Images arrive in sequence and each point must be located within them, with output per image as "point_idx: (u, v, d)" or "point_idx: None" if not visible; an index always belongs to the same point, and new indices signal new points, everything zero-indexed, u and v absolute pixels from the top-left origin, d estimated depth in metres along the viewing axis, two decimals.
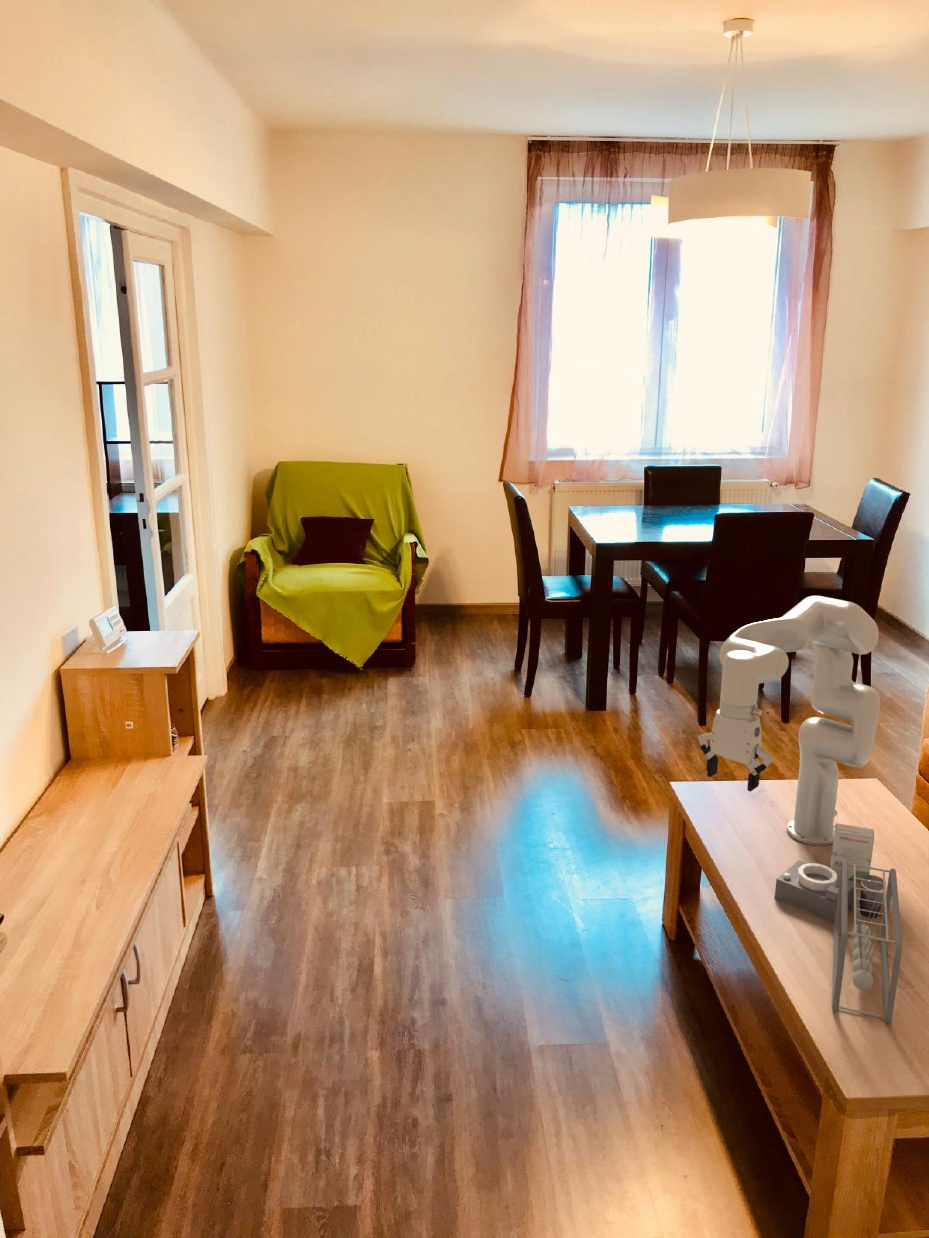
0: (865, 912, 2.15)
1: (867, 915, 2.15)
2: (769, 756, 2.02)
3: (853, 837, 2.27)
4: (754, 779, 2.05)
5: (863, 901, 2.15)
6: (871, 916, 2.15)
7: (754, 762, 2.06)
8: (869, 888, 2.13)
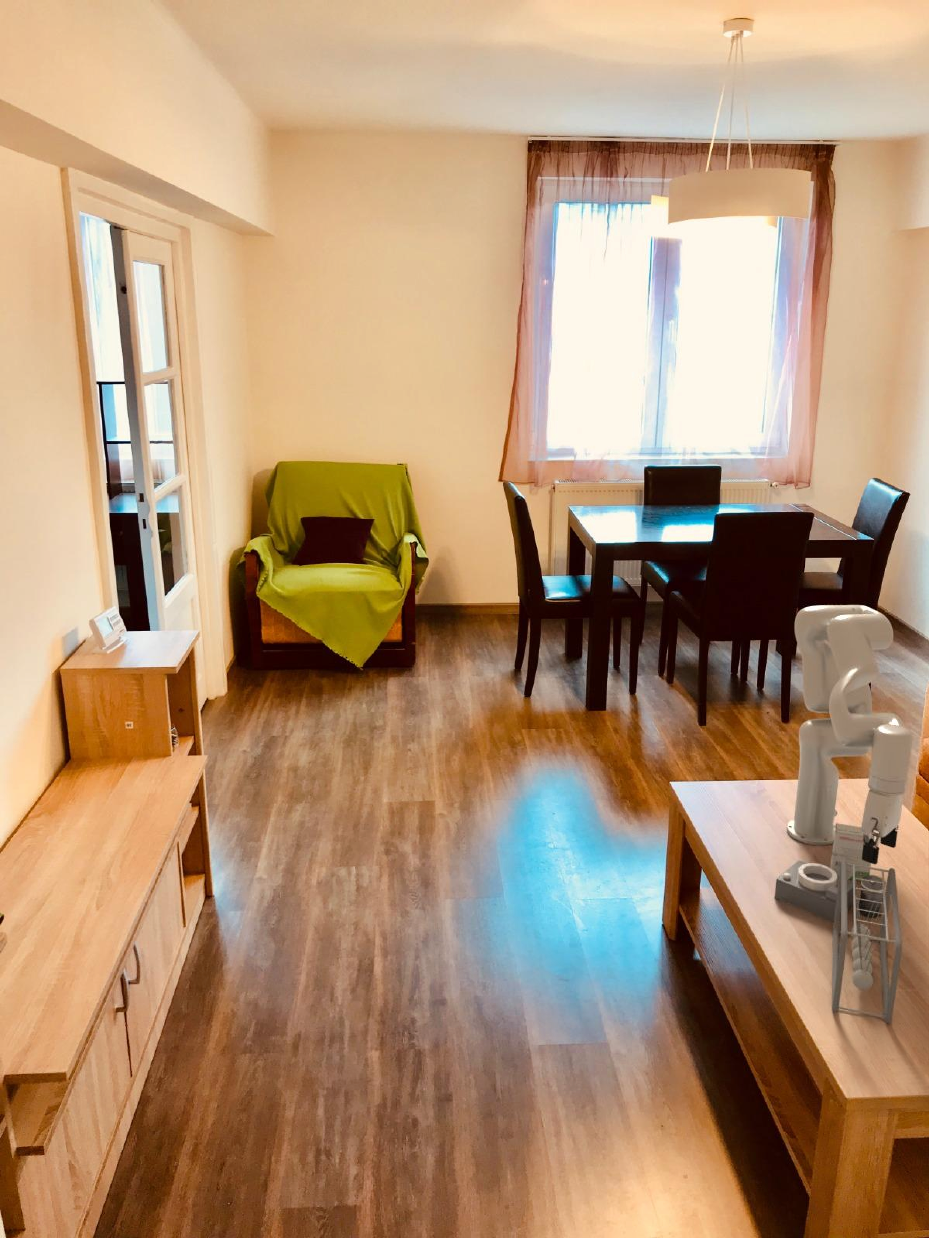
0: (865, 912, 2.15)
1: (867, 915, 2.15)
2: None
3: (853, 837, 2.27)
4: None
5: (863, 901, 2.15)
6: (871, 916, 2.15)
7: None
8: (869, 888, 2.13)
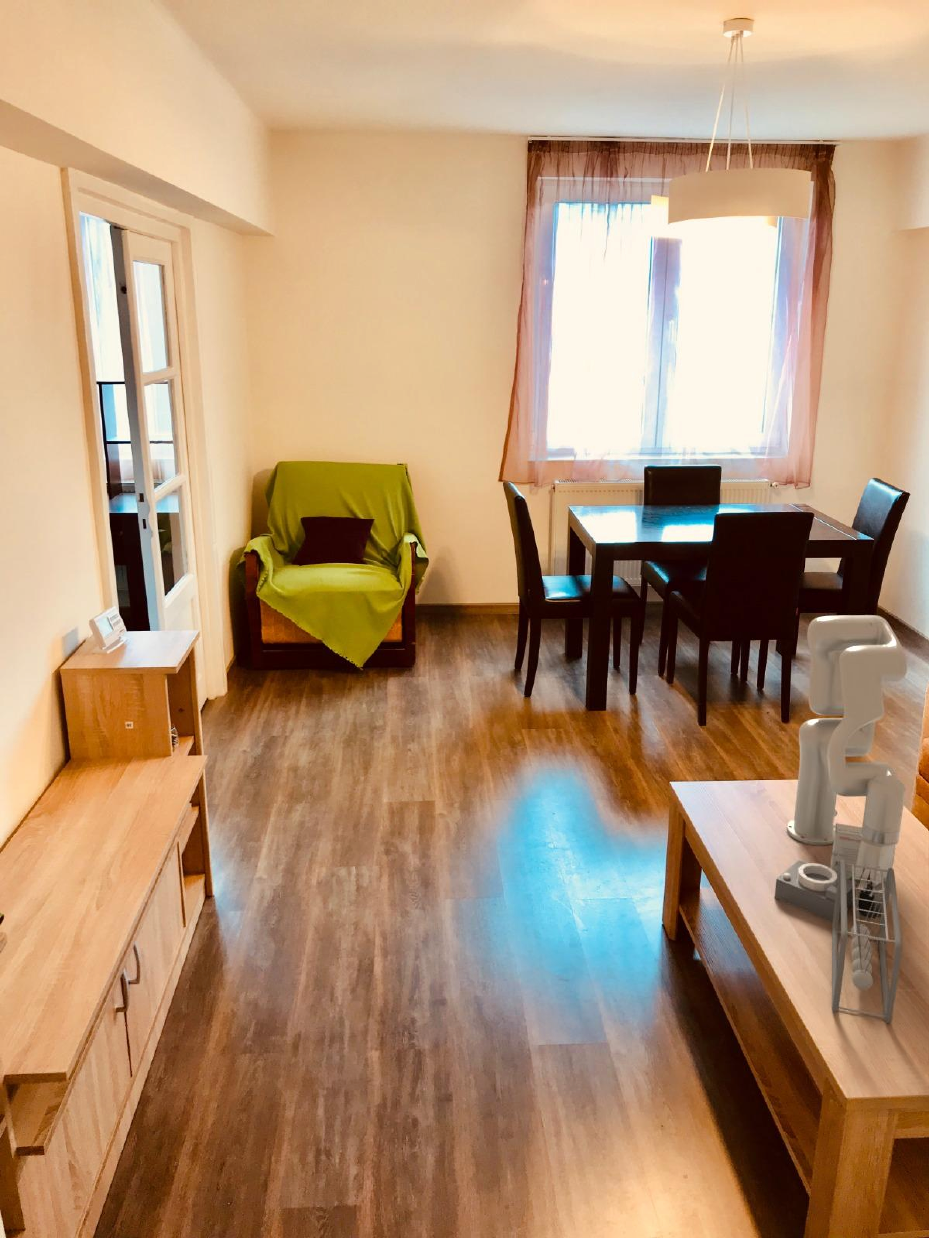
0: (865, 912, 2.15)
1: None
2: None
3: (853, 837, 2.27)
4: None
5: None
6: (871, 916, 2.15)
7: None
8: (869, 888, 2.13)
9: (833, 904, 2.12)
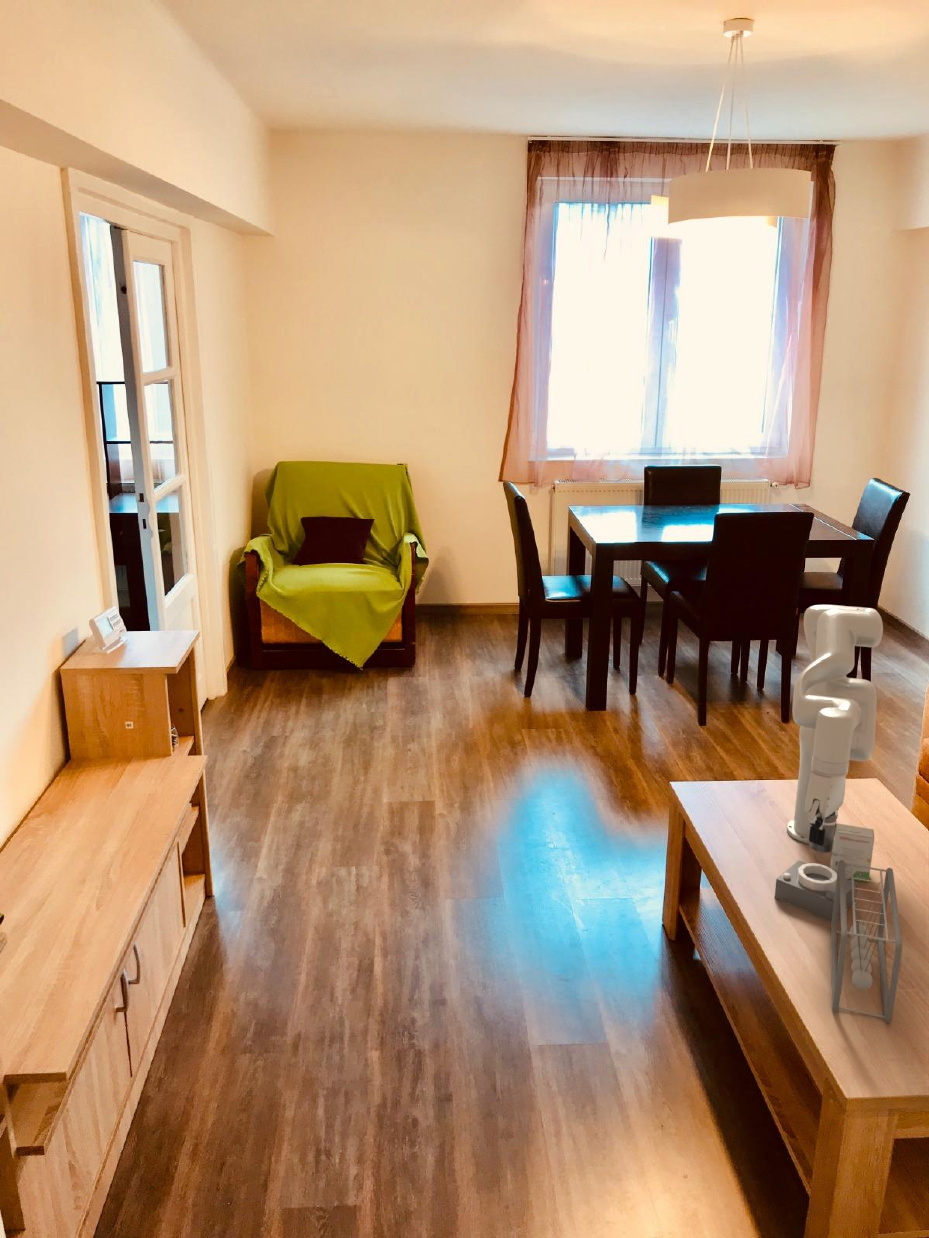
0: (816, 846, 2.15)
1: (818, 849, 2.15)
2: None
3: (853, 837, 2.27)
4: None
5: None
6: (822, 850, 2.15)
7: None
8: None
9: (833, 904, 2.12)
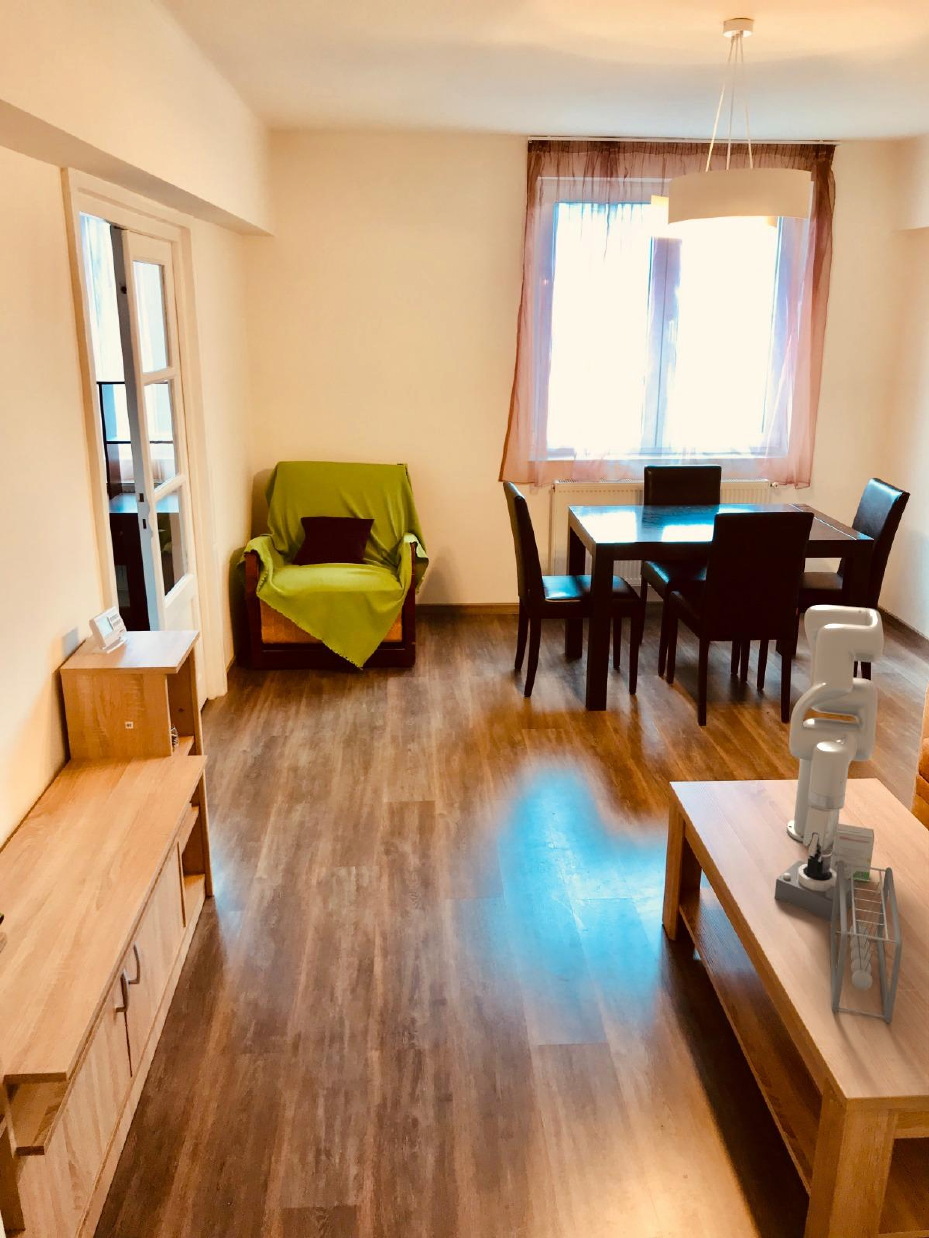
0: (814, 877, 2.18)
1: None
2: None
3: (853, 837, 2.27)
4: None
5: None
6: None
7: None
8: None
9: None
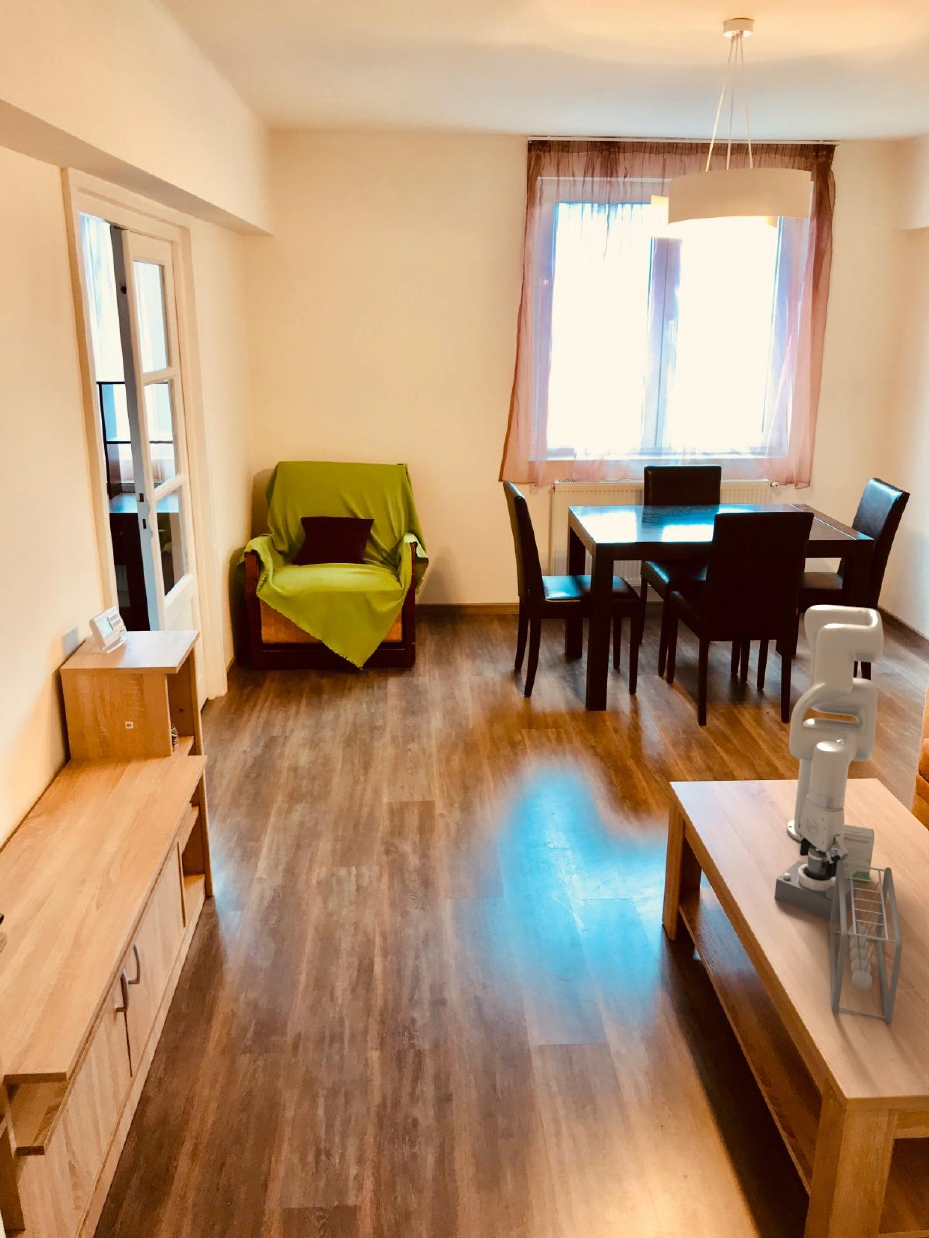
0: None
1: None
2: (801, 814, 2.24)
3: (853, 837, 2.27)
4: None
5: (820, 873, 2.17)
6: None
7: None
8: (826, 858, 2.16)
9: None
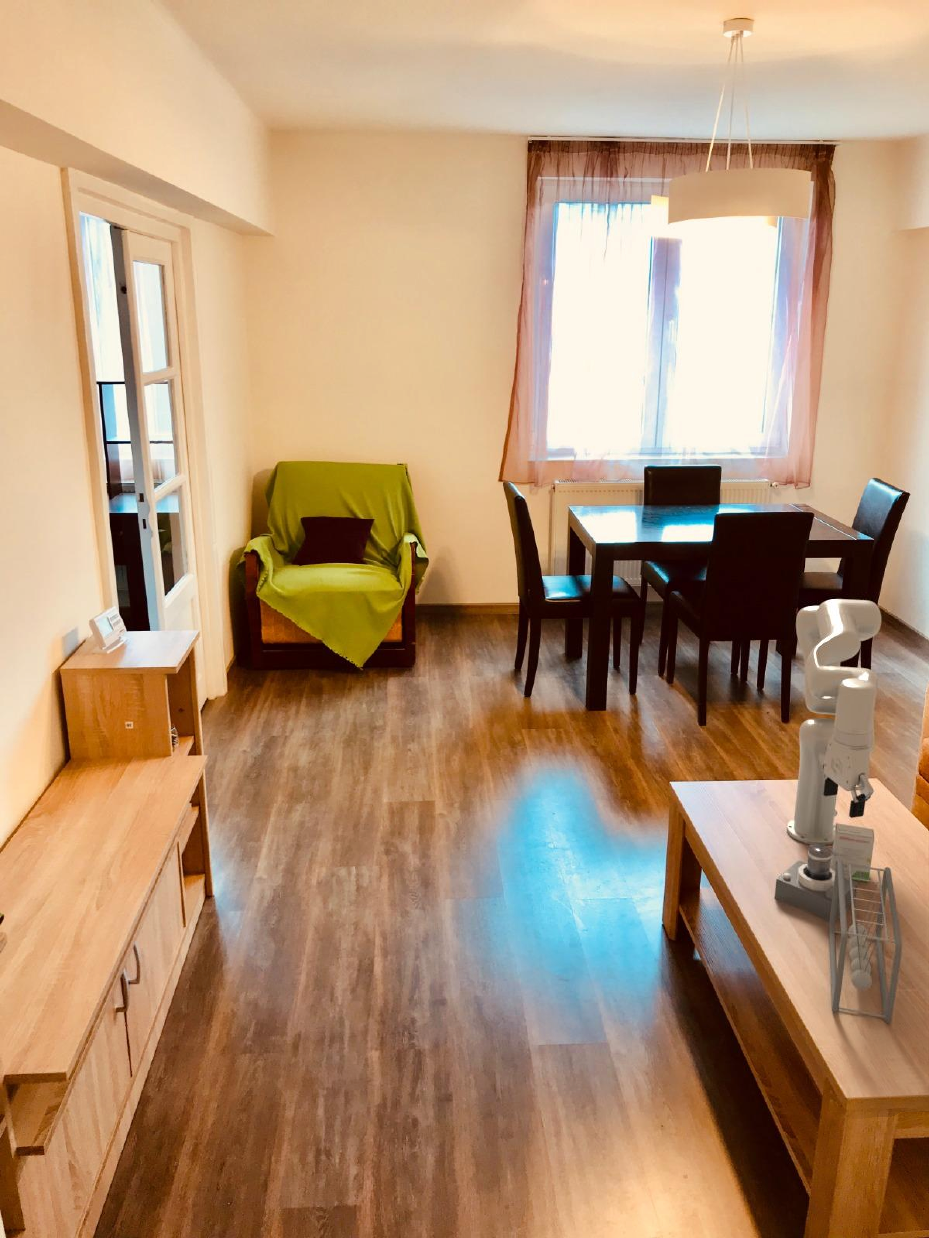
0: None
1: None
2: (826, 754, 2.20)
3: (853, 837, 2.27)
4: None
5: (820, 872, 2.17)
6: None
7: None
8: (826, 858, 2.16)
9: None
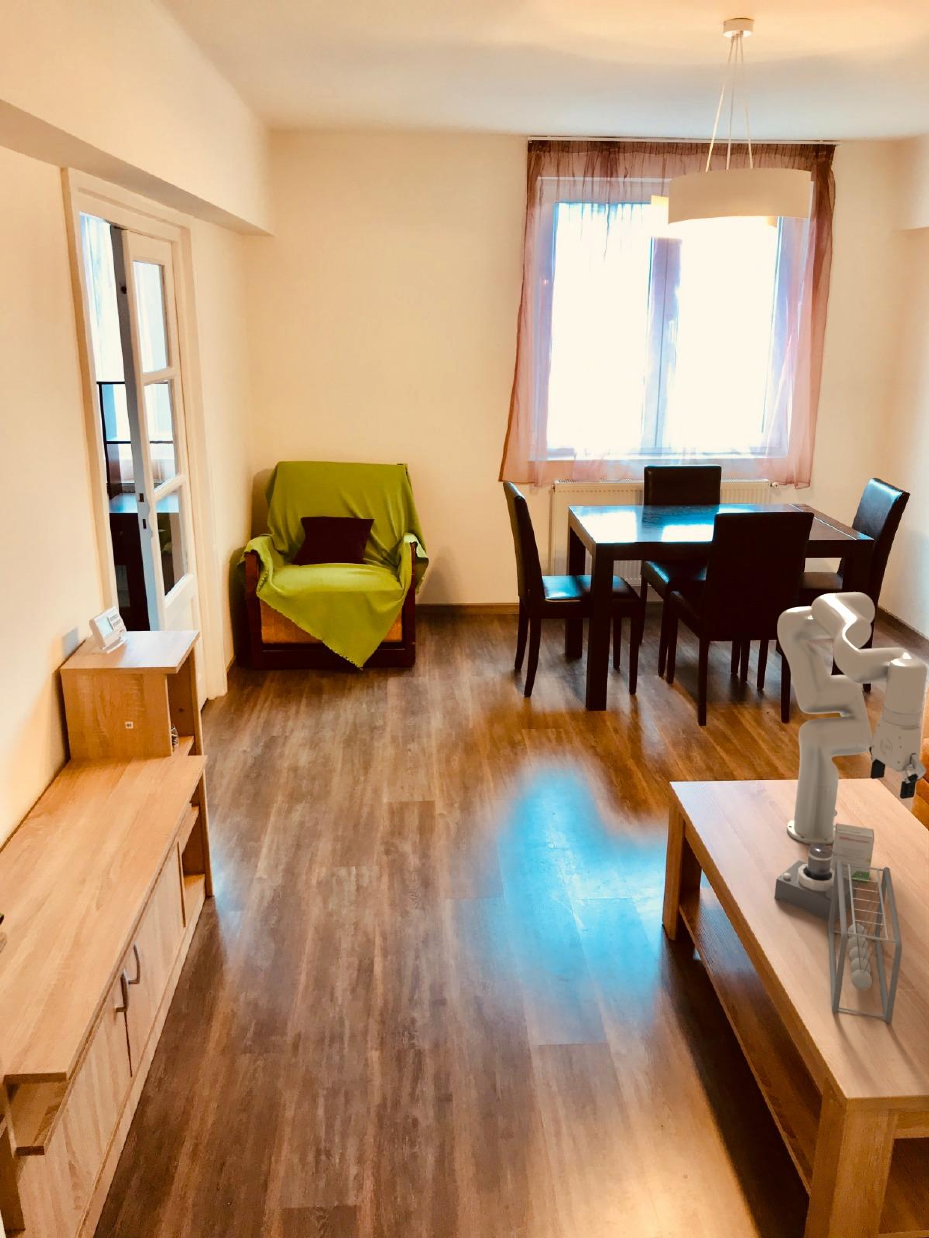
0: None
1: None
2: None
3: (853, 837, 2.27)
4: None
5: (821, 873, 2.17)
6: None
7: None
8: (827, 858, 2.16)
9: None
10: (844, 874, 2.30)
